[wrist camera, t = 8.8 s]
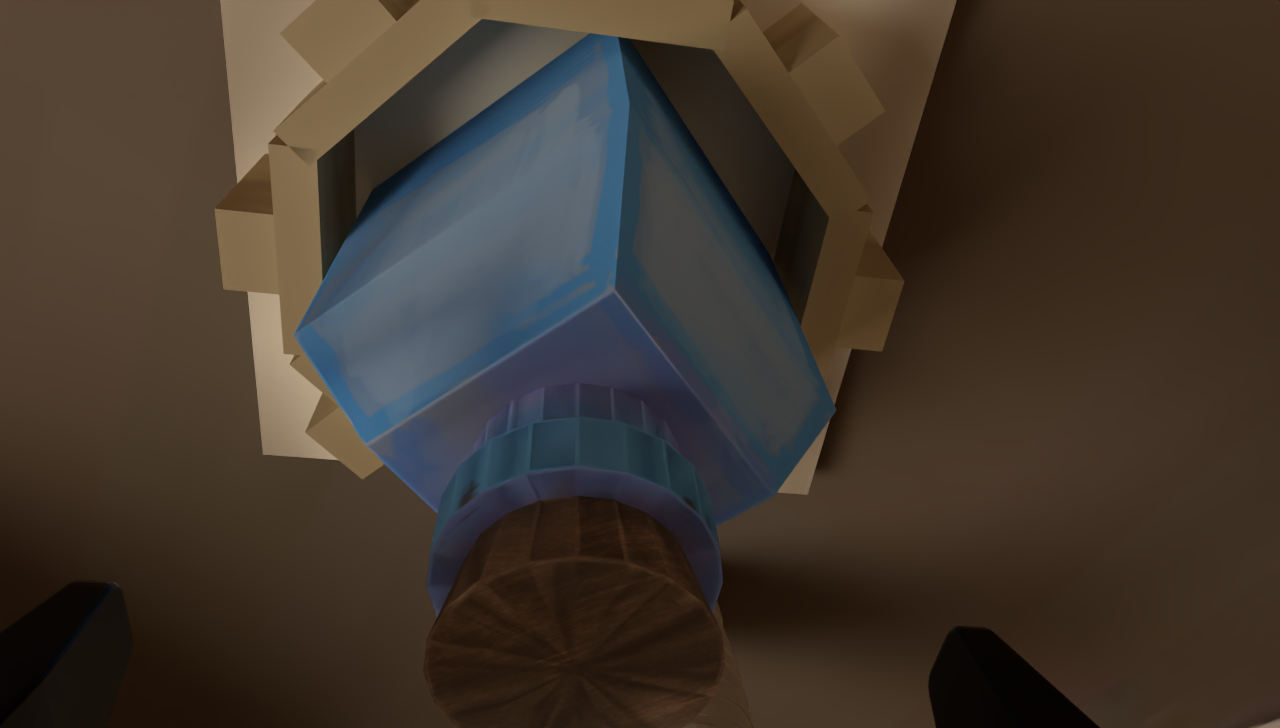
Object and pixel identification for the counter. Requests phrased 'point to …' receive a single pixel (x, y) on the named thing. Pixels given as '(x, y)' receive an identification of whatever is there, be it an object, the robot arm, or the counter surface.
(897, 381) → the counter surface
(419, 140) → the gear board
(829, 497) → the counter surface
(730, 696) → the handle
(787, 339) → the perfume bottle
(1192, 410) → the counter surface
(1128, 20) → the counter surface
